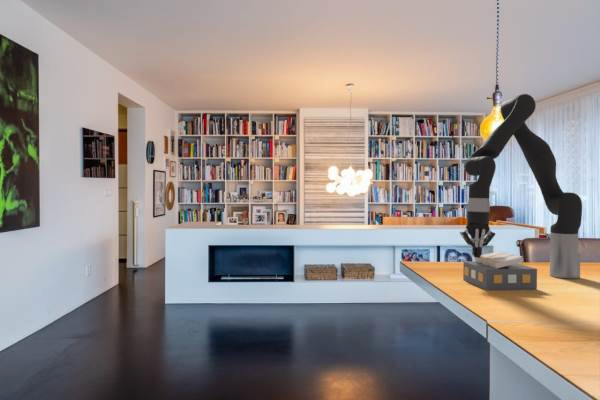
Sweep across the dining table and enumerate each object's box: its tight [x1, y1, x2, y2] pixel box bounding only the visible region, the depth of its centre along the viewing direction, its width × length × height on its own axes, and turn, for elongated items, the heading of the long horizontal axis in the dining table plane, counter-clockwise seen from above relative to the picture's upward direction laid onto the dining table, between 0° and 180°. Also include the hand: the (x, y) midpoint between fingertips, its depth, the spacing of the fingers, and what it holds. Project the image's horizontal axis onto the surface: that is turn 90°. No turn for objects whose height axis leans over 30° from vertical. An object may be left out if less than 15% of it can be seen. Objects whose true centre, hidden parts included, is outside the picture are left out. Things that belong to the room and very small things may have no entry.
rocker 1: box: [482, 252, 515, 266], centre depth 144 cm, size 10×4×2 cm, turn 94°
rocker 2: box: [489, 254, 525, 269], centre depth 139 cm, size 10×4×2 cm, turn 94°
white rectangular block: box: [474, 251, 506, 263], centre depth 149 cm, size 10×4×2 cm, turn 94°
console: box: [462, 260, 538, 291], centre depth 144 cm, size 18×16×8 cm
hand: (476, 257), depth 149 cm, fingers closed
